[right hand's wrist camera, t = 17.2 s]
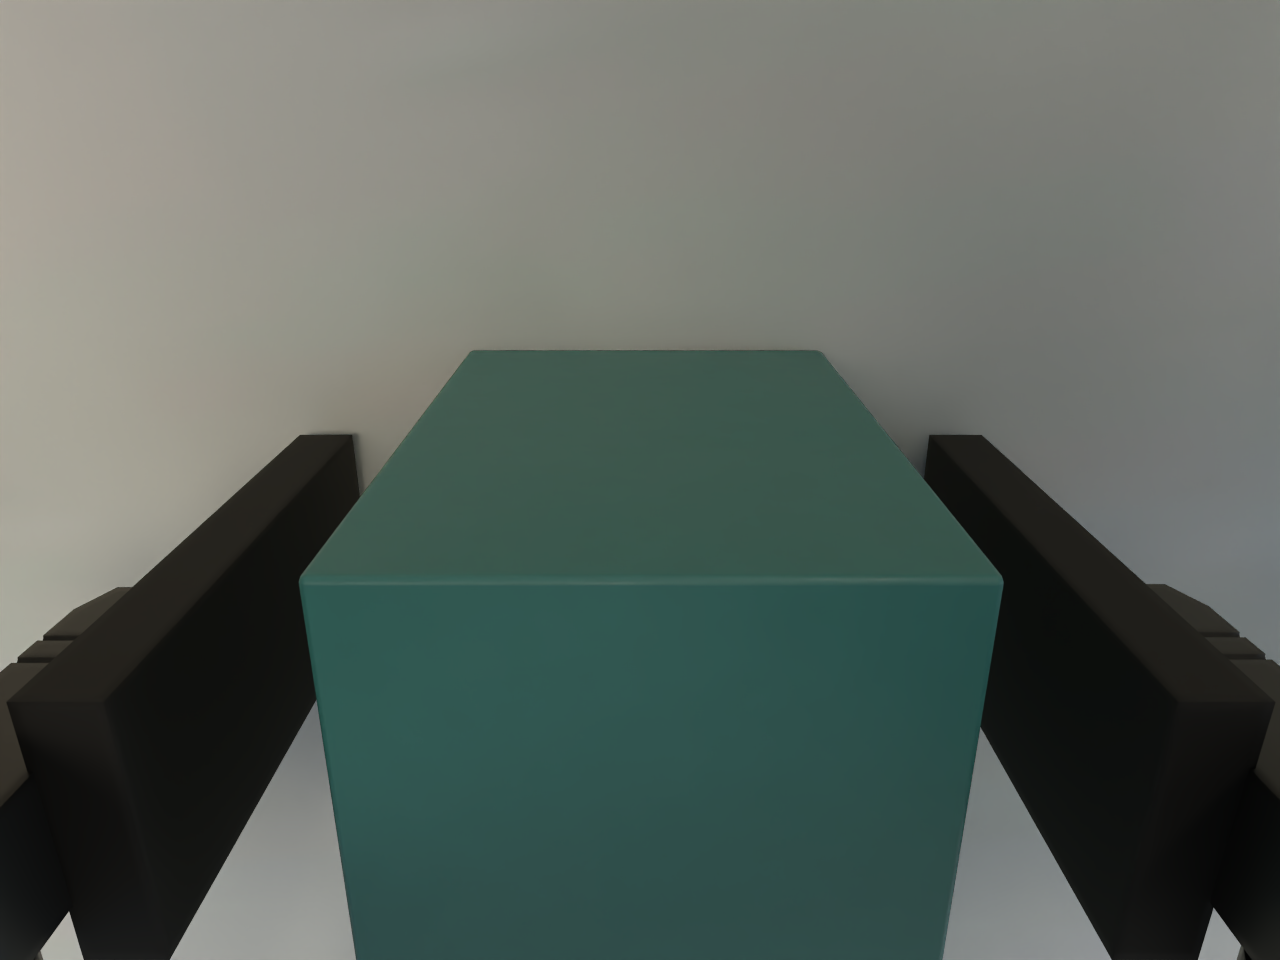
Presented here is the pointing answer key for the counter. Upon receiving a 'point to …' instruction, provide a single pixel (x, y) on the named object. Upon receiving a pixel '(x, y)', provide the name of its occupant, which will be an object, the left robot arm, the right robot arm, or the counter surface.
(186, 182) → the counter surface
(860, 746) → the teal block
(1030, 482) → the right robot arm
